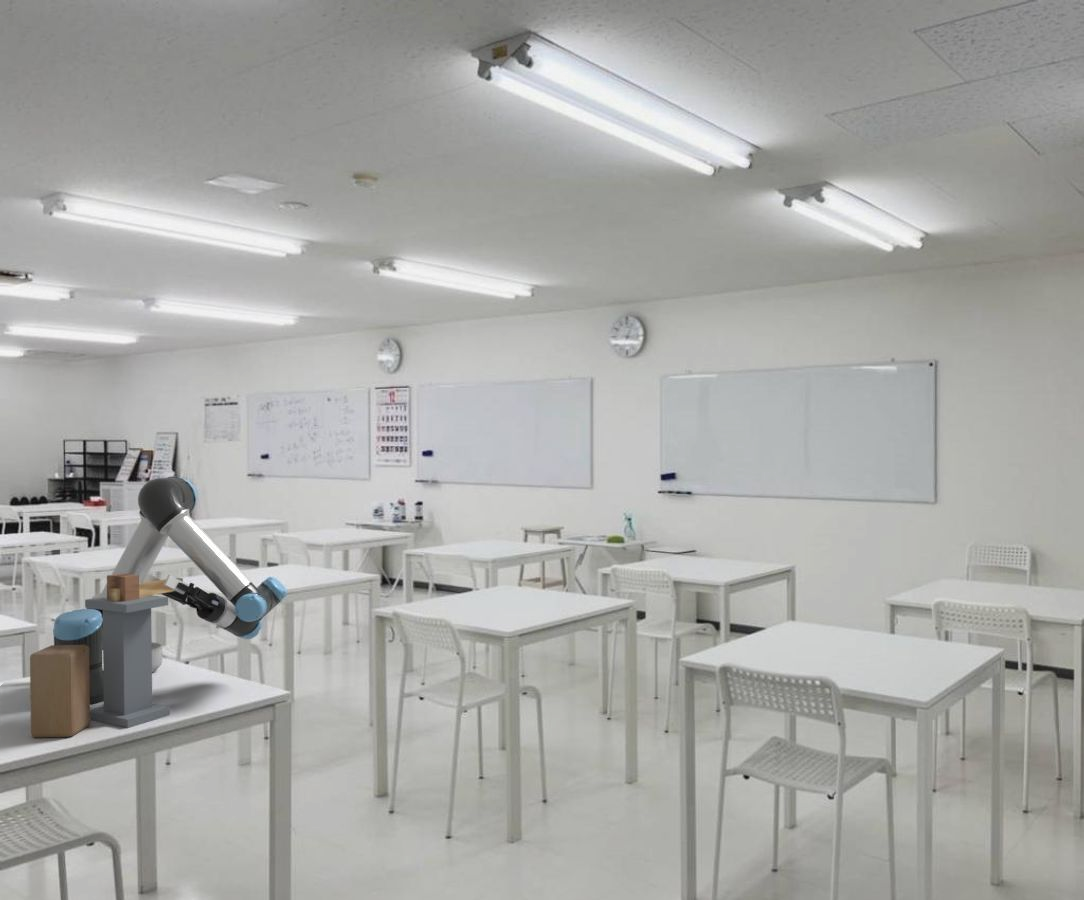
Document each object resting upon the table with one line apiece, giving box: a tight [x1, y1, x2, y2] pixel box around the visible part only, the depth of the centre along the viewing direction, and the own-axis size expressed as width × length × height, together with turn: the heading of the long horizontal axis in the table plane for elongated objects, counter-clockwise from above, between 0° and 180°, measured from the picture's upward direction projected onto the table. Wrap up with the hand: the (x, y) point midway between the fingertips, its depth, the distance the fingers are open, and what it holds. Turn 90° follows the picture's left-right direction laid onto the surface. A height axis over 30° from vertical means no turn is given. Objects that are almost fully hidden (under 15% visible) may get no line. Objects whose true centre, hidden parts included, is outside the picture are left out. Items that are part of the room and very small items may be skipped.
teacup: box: [152, 641, 163, 673], centre depth 279 cm, size 14×11×8 cm
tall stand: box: [84, 595, 171, 729], centre depth 233 cm, size 16×12×30 cm
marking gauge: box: [106, 573, 184, 601], centre depth 238 cm, size 7×20×6 cm, turn 151°
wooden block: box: [29, 644, 91, 739], centre depth 221 cm, size 10×10×20 cm
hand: (155, 578), depth 240 cm, fingers open, 8 cm apart
